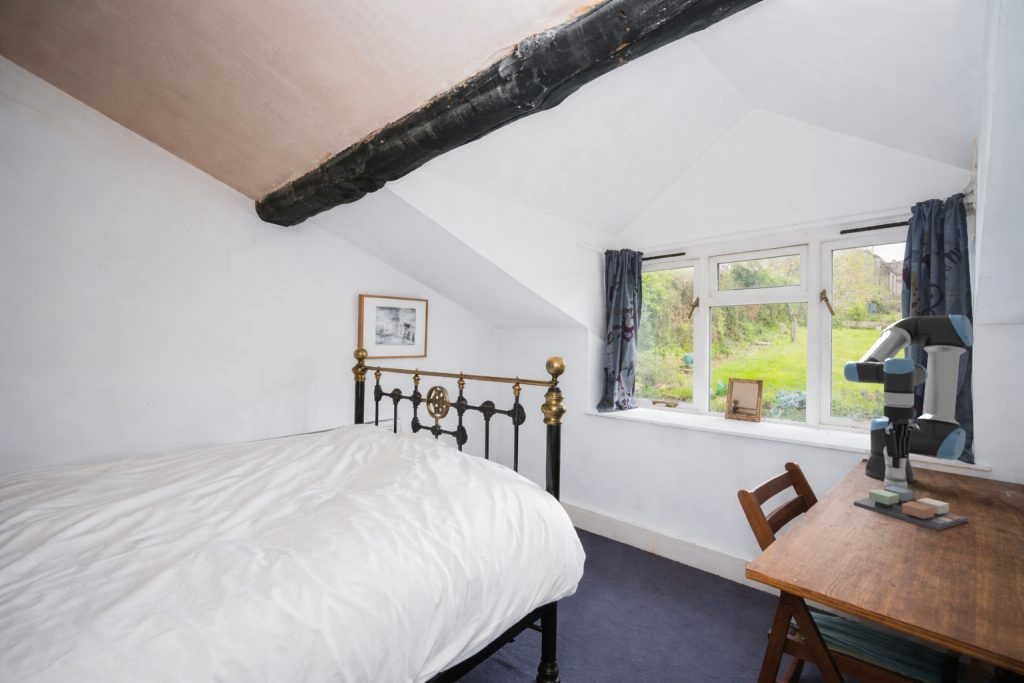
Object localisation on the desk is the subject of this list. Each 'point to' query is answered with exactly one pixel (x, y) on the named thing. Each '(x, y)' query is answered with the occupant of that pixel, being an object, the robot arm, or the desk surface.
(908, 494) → the key slate
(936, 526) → the keypad
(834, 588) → the desk surface
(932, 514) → the key terracotta
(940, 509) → the key cream
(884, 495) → the key sage
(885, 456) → the plastic bottle
